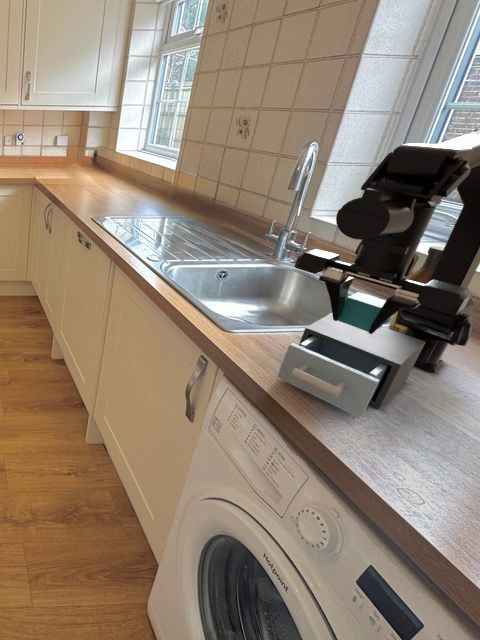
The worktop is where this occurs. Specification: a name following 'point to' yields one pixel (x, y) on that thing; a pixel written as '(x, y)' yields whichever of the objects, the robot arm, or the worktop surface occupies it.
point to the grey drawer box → (372, 350)
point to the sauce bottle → (421, 279)
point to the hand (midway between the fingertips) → (353, 326)
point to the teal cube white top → (361, 310)
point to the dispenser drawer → (334, 373)
